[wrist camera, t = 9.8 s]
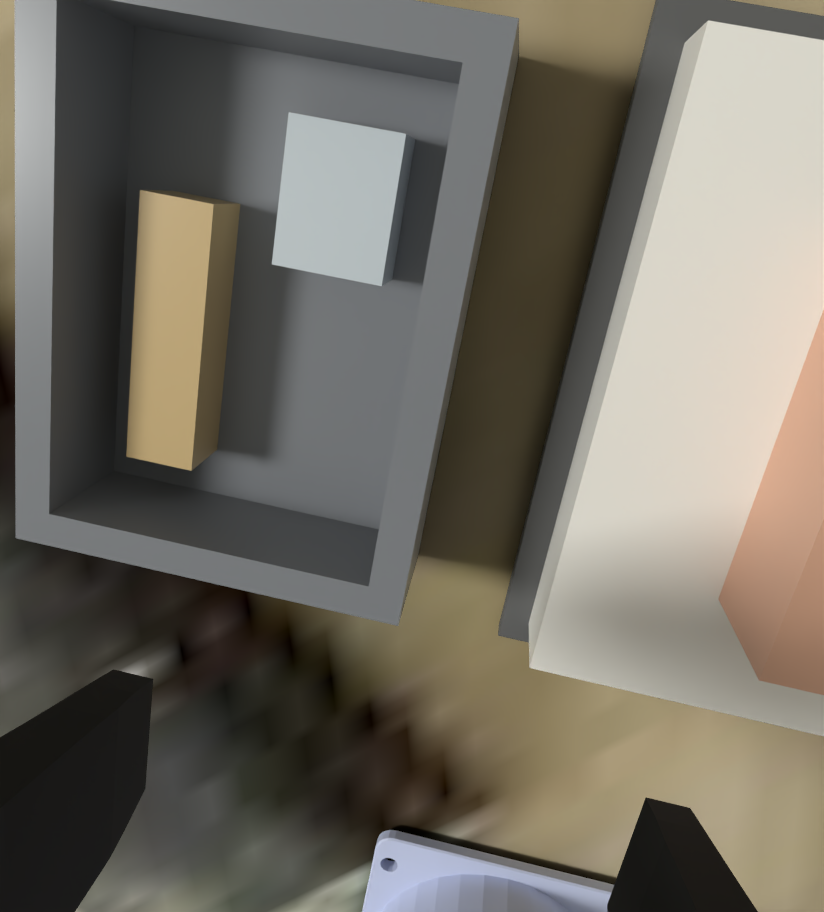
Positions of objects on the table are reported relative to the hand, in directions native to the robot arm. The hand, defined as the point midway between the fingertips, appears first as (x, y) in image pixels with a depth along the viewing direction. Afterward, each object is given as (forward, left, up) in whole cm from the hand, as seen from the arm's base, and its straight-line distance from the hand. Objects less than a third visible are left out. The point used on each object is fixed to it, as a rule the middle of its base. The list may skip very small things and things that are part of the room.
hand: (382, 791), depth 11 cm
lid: (+5, -8, -9) cm, 13 cm away
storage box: (+5, +5, -9) cm, 12 cm away
